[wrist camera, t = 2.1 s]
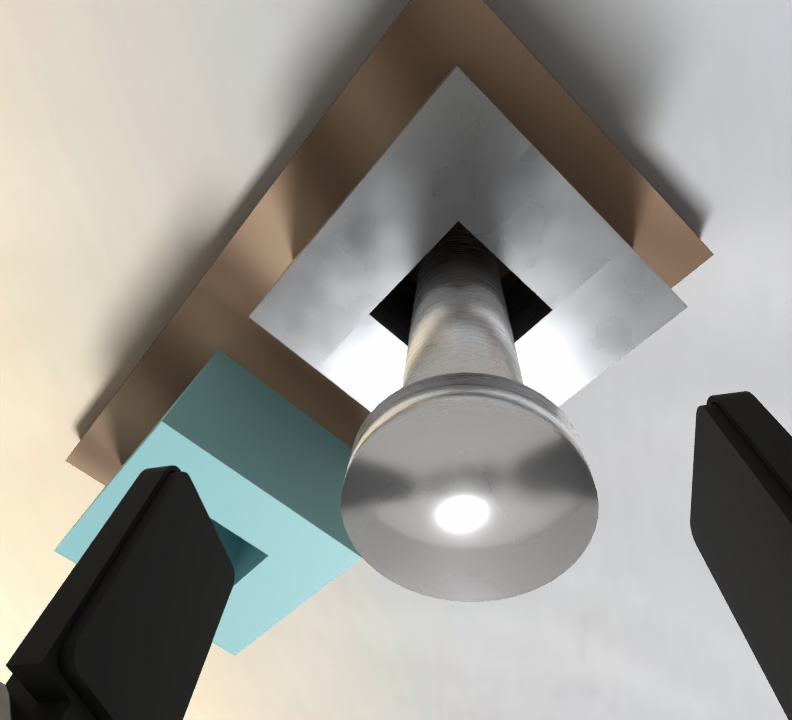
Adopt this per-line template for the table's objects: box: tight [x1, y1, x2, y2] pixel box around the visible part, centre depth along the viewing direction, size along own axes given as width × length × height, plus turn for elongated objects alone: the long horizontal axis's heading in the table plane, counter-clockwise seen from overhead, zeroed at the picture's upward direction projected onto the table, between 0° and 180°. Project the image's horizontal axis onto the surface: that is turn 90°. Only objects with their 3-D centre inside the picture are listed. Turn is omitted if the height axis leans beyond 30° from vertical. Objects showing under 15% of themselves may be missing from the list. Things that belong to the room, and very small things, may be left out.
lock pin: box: [341, 221, 598, 602], centre depth 17 cm, size 5×5×15 cm
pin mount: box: [249, 64, 688, 411], centre depth 21 cm, size 10×10×6 cm
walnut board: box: [65, 0, 714, 486], centre depth 27 cm, size 30×15×2 cm, turn 139°
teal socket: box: [54, 349, 362, 655], centre depth 27 cm, size 10×10×6 cm
